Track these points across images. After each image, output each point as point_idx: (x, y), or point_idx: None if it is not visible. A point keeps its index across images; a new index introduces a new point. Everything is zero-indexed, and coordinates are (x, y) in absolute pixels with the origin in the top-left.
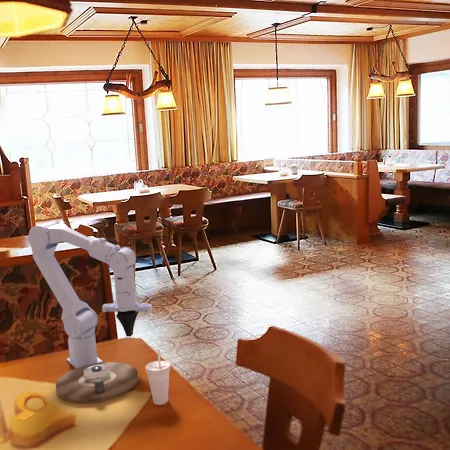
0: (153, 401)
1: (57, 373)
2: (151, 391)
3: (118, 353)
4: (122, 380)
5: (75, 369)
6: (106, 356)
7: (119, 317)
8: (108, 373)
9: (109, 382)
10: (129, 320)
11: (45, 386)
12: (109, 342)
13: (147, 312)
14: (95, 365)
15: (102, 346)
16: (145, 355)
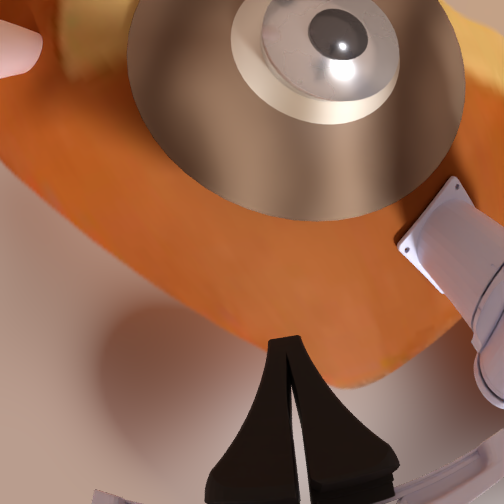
0: (35, 32)
1: (486, 143)
2: (14, 24)
3: (366, 317)
4: (182, 51)
5: (452, 127)
6: (396, 290)
7: (361, 457)
8: (262, 39)
9: (233, 16)
10: (253, 446)
11: (472, 50)
12: (407, 356)
13: (111, 494)
14: (374, 86)
15: (420, 335)
16: (268, 328)
